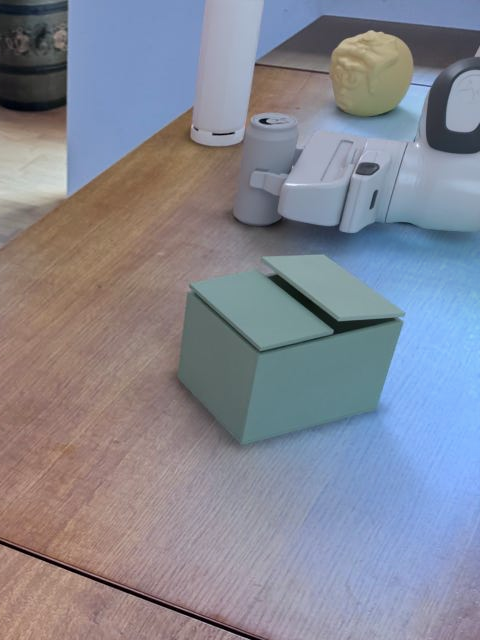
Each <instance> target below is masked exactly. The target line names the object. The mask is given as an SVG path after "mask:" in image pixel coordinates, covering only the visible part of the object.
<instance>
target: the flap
mask: <svg viewBox="0 0 480 640" xmlns="http://www.w3.org/2000/svg"><path fill="white" fill-rule="evenodd" d="M260 262H262V264H264V266H266V267H268V268H269V269H270V270H272V271H273V273H275V272H276V273H277V274H278V275H279V276H281V277H282V278H283V279H285V280H286V281H287V282H288V283H290V284H291V285H292V286H294V287H295V288H296V289H297V290H299V291H300V292H301V293H303V294H304V295H305V296H306V297H308V298H309V299H310V300H312V301H313V302H314V303H315V304H317V305H318V306H319V307H320V308H322V309H323V310H324V311H326V312H327V313H328V314H329V315H331V316H332V317H333V318H335V319H336V320H337V321H350V320H365V319H380V318H395V317H398V318H404V317H405V316H406V314H407V313H406V312H405V311H404V310H403V309H401V308H400V307H398V306H397V305H396V304H394V303H392V302H391V301H390V300H389V299H387V298H385V297H384V296H383V295H381V294H380V293H378V292H377V291H375V290H374V289H373V288H371V286H368V285H367V284H365V282H363V281H362V280H360V279H359V278H357V277H356V276H355V275H353V274H352V273H351V272H349V271H348V270H346V269H344V268H343V267H342V266H341V265H339V264H337V263H336V262H335V261H334V260H332V259H330V258H329V257H328V256H327V255H325V254H323V253H322V254H303V255H301V254H300V255H299V254H298V255H296V254H295V255H270V256H268V255H267V256H261V257H260Z"/></svg>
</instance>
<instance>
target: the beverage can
mask: <svg viewBox="0 0 480 640" xmlns="http://www.w3.org/2000/svg"><path fill="white" fill-rule="evenodd" d="M298 123H299V121H298V119H297V118H296V117H295V116H293V115H290V114H288V113H287V114H286V113H282V112H262V113H258V114H255V115H253V116H252V117H250V121H249V124H248V126H247V127H246V128H245V131H244V138H243V146H242V152H241V158H240V165H239V171H238V177H237V184H236V191H235V195H234V202H233V209H232V214H233V216H234V217H235V218H236V219H237V220H238V222H240V223H242V224H244V225H248V226H253V227H254V226H255V227H262V226H263V227H264V226H270V225H272V224H275V223H276V222H278V221H279V220H281V219H282V217H283V216H282V215H280V214H279V213H278V204H279V198H280V196H277V195H273V194H271V193H270V192H268V191H266V190H264V189H261V188H254V187H251V186H250V178H251V174H252V173H253V171H254V170H255V169H256V168H260V169H268V172H270V173H274V174H277V175H280V174H281V173H282V174H290V172H291V170H292V168H293V160H294V155H295V150H296V145H298V139H299V134H300V133H299V128H298Z"/></svg>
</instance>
